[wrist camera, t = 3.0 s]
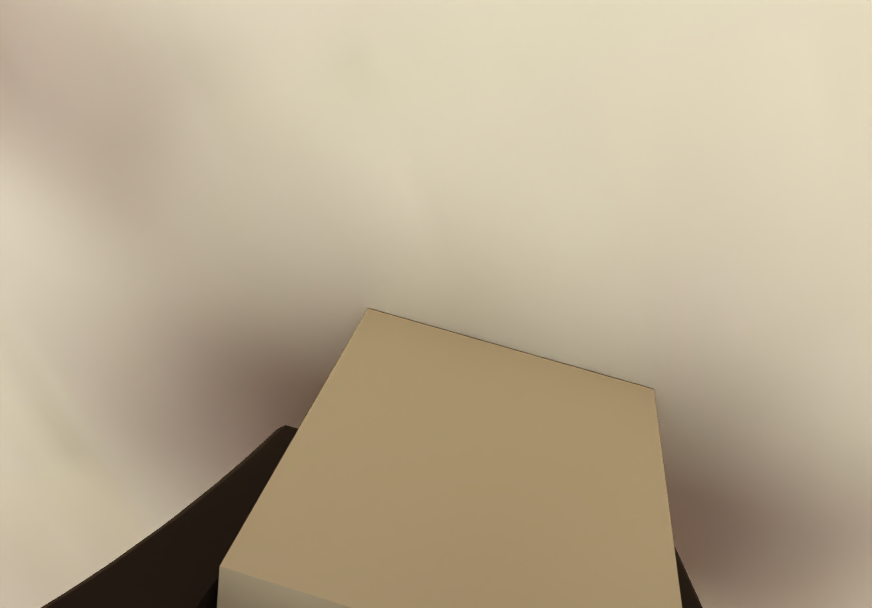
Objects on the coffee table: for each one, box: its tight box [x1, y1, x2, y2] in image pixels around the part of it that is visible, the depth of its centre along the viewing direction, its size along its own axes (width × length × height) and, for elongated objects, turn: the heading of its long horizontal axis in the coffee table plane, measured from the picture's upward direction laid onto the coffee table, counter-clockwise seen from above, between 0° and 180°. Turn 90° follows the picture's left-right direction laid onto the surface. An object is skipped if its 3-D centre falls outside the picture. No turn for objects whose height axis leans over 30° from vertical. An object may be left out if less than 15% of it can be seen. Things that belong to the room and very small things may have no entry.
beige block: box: [217, 309, 682, 608], centre depth 10 cm, size 4×4×5 cm
